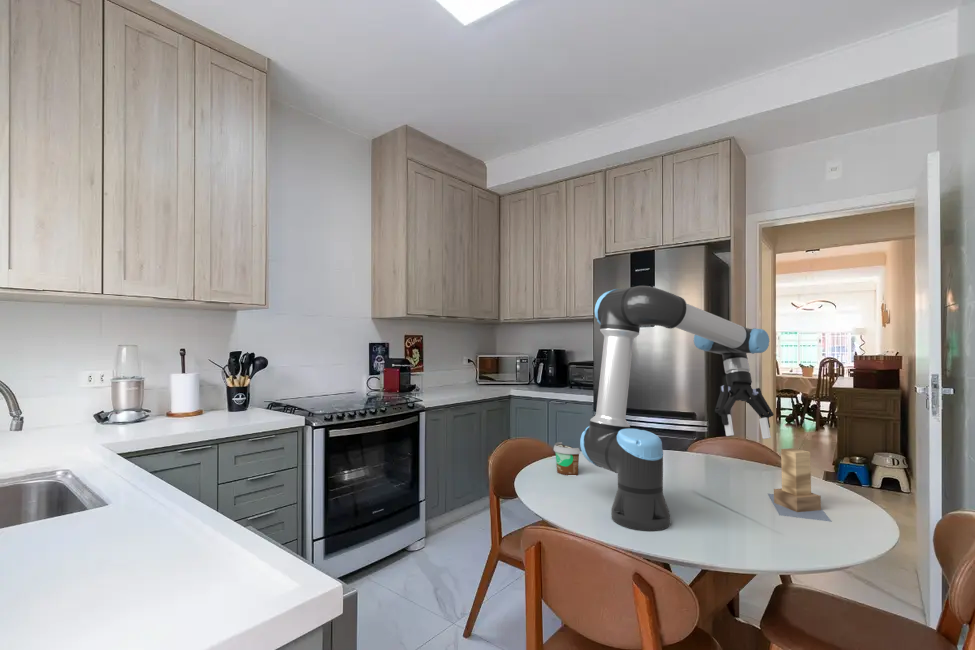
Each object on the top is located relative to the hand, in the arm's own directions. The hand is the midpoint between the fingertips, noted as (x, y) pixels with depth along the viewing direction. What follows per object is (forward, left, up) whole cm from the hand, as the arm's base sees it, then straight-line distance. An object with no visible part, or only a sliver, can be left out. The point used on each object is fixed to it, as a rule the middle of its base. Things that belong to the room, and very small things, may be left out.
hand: (748, 437), depth 151 cm
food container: (-1, +60, -18) cm, 63 cm away
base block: (-11, -11, -17) cm, 23 cm away
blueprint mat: (-11, -11, -17) cm, 23 cm away
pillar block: (-11, -11, -13) cm, 20 cm away
